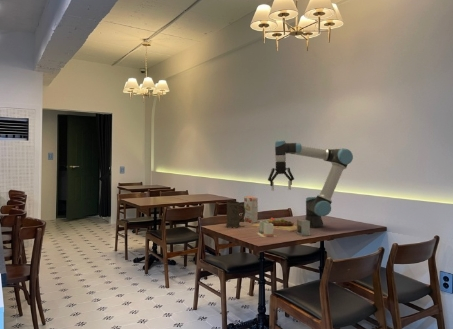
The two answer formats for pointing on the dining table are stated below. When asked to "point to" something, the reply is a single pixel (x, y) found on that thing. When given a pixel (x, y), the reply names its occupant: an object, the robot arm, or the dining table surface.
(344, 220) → the dining table surface
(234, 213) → the beer stein
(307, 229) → the feeder chute
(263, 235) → the pin board
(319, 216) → the robot arm
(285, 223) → the cutting board
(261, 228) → the seated sleeve
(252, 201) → the cracker box
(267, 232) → the sleeve
